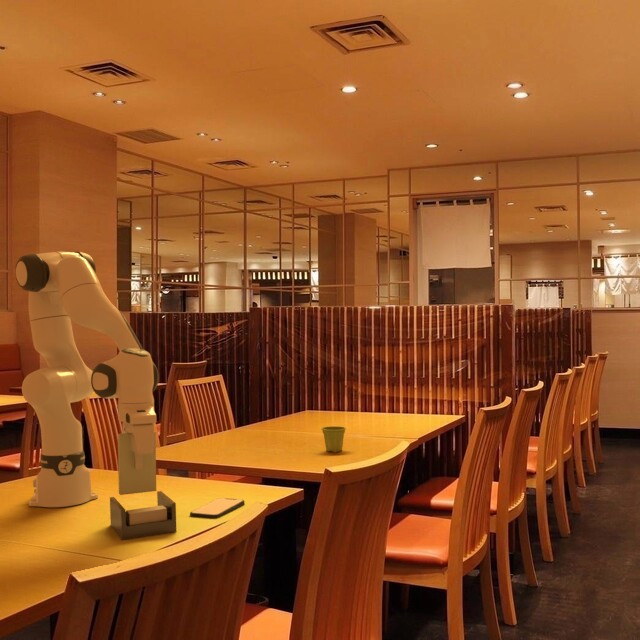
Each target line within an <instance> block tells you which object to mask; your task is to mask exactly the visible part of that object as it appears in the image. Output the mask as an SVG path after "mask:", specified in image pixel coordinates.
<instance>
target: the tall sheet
mask: <svg viewBox="0 0 640 640" xmlns="http://www.w3.org/2000/svg"><path fill="white" fill-rule="evenodd" d="M130 435H131V433H122V432H121V433H117V454H118V455H117V456H118V457H117V461H118V462H117V464H118V465H117V466H118V468H117V471H118V494H119V495H120V496H123V495H124V496H125V495H133V494H134V495H135V494H142V493H150V492H156V491H157V454H156V453H157V449H156V446H157V445H156V444H157V443H156V441H157V440H156V438H157V437H156V436H157V435H156V431H155V430H154V446H153V452H152V454H151V455H145V456H144V459H143V468H142V469H140V470H137V469H135V465H134V462H135V453H134V452H133V451H132V450H131V448H130Z"/></svg>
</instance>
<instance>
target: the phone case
mask: <svg viewBox="0 0 640 640" xmlns="http://www.w3.org/2000/svg"><path fill="white" fill-rule="evenodd" d="M243 506H245V500H244V499H240V498H239V499H237V498H226V497H225V498H223V497H220V498H216V499H214V500H212V501H210V502H207V503H205V504H204V505H202V506H199V507H198V508H195V509H194V510H192V511H190V512H189V516H190V517H192V518H203V519H204V518H205V519H219V518H221V517H223V516H225V515H227V514H229V513H231V512H233V511H236V510H237V509H239V508H241V507H243Z"/></svg>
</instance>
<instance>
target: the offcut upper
mask: <svg viewBox="0 0 640 640" xmlns="http://www.w3.org/2000/svg"><path fill="white" fill-rule="evenodd" d="M125 512H126V523H127V524H128V525H134V524H141V523H148V522H155V521H162V520H167V508H165V507H164V506H163V505H162V506H158V505H155V506H150V507H142V508H135V509H128V510H126V509H125Z"/></svg>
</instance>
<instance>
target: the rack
mask: <svg viewBox="0 0 640 640" xmlns="http://www.w3.org/2000/svg"><path fill="white" fill-rule="evenodd" d="M156 491H157V490H156ZM156 494H157V495H156V496H157V497H156V499H157V506H162V505H163V506H164V507H165V508H167V520H162V521H155V522H148V523H141V524H134V525H127V523H126V509H125V507H123V505H122V504H121V503H120V502H119V500H117V498H116V497H115V496H110V497H109V513H110V515H109V517H110V526H111V527H112V529H113V530H114V532H115V533H116V534H117V535H118V537H119V538H120V539H121V541H126V540H131V539H138V538H139V539H140V538H144V537H145V538H146V537H151V536H153V537H154V536H159V535H166V534H171V533H177V531H178V530H177V505H176V502H175V501H174V500H172V499H171V497H169V496H168V495H166V494H165V493H164V492H163V491H162V490H158V491H157V492H156Z"/></svg>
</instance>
